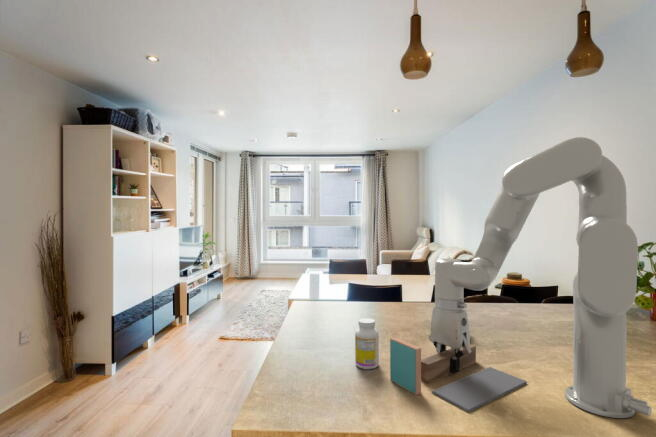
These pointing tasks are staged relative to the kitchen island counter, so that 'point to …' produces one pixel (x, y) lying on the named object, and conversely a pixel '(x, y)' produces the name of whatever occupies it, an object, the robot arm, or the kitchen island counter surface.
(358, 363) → the supplement bottle
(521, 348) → the kitchen island counter surface
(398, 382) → the terracotta tile
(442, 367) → the walnut bar
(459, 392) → the rubber mat
